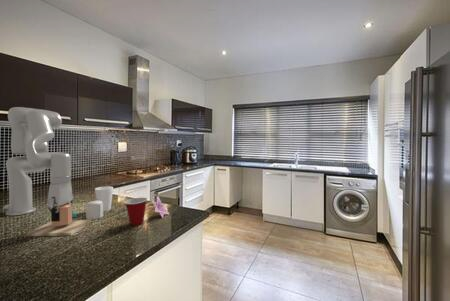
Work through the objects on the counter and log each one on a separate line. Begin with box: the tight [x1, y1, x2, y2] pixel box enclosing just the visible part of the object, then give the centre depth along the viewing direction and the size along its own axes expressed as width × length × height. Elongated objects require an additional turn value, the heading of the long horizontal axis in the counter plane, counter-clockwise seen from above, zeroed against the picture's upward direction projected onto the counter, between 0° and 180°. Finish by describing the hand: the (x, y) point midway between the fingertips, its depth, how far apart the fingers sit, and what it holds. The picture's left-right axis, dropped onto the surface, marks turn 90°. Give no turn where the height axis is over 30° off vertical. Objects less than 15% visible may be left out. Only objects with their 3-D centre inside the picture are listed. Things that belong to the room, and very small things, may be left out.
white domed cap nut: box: [85, 200, 104, 221], centre depth 116 cm, size 7×7×8 cm
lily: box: [151, 196, 170, 219], centre depth 120 cm, size 12×12×10 cm
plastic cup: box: [123, 197, 148, 226], centre depth 108 cm, size 11×11×12 cm
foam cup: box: [94, 185, 114, 212], centre depth 129 cm, size 10×9×13 cm
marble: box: [72, 210, 77, 219], centre depth 115 cm, size 3×3×3 cm
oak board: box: [26, 219, 92, 237], centre depth 101 cm, size 18×16×1 cm
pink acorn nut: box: [50, 204, 73, 226], centre depth 101 cm, size 7×7×8 cm
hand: (61, 217), depth 101 cm, fingers closed on pink acorn nut, 7 cm apart
